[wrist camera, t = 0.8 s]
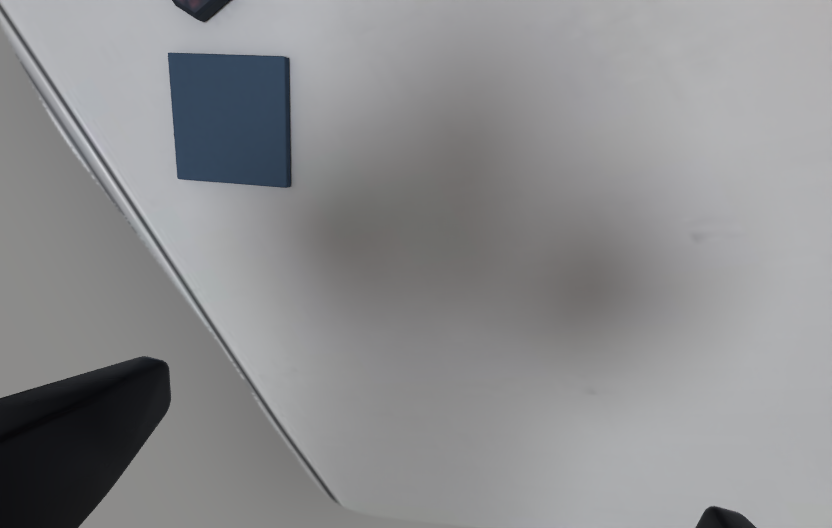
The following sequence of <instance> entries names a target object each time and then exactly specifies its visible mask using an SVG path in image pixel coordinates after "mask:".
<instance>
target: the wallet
mask: <svg viewBox="0 0 832 528" xmlns="http://www.w3.org/2000/svg"><path fill="white" fill-rule="evenodd" d="M172 1H173V2H174V4H175V5H176V6H177V7H179V8H180V9H182V10H183V11H185V12H186V13H188V14H189V15H191V16H193V17H194V18H196V19H198V20H200V21H203V22H205V21H206V20H207V19H208V18H209V17H210V16H212V15H213V14H214V13H215V12H216V11H217V10H219V9H220V8H221V7H222V6H223V5H224V4H226V3H227V2H228V1H229V0H172Z"/></svg>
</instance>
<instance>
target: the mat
mask: <svg viewBox="0 0 832 528" xmlns="http://www.w3.org/2000/svg"><path fill="white" fill-rule="evenodd" d="M168 61H169V74H170V86H171V99H172V112H173V125H174V138H175V151H176V164H177V177H178V179H184V180H196V181H209V182H222V183H234V184H247V185H259V186H272V187H285V188H287V187H290V186H291V175H290V106H289V58H287V57H284V56H256V55H224V54H192V53H168Z"/></svg>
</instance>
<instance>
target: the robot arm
mask: <svg viewBox="0 0 832 528" xmlns="http://www.w3.org/2000/svg"><path fill="white" fill-rule="evenodd" d="M170 402H171V390H170V375H169V367H168V365H167V363H166V362H164V361H163V360H159V359H155V358H151V357H146V356H142V357H138V358H135V359H132V360H128V361H125V362H121V363H118V364H115V365H111V366H108V367H104V368H101V369H97V370H94V371H91V372H87V373H84V374H81V375H77V376H74V377H71V378H67V379H64V380H61V381H57V382H54V383H50V384H47V385H43V386H40V387H37V388H33V389H30V390H26V391H23V392H20V393H16V394H13V395H10V396H6V397H3V398H0V528H78V527H79V526H80V525H81V524H82V523H83V521H84V520H85V519H86V518H87V517H88V516H89V514H90V513H91V512H92V511H93V510H94V509H95V508H96V506H97V505H98V504H99V503H100V502H101V500H102V499H103V498H104V497H105V496H106V494H107V493H108V492H109V490H110V489H111V488H112V487H113V486H114V484H115V483H116V482H117V480H118V479H119V478H120V476H121V475H122V474H123V472H124V471H125V469H126V468H127V467H128V465H129V464H130V463H131V461H132V460H133V458H134V457H135V456H136V454H137V453H138V452H139V450H140V449H141V447H142V446H143V445H144V443H145V442H146V440H147V439H148V437H149V436H150V435H151V434H152V432H153V431H154V429H155V428H156V427H157V425H158V424H159V422H160V421H161V420H162V418H163V417H164V416H165V414H166V412H167V411H168V408H169V406H170ZM696 528H756V527H755V526H754V525H753V524H752V523H751V522H750V521H749V520H748V519H747V518H745V517H744V516H743V515H742V514H740V513H738V512H735V511H731V510H727V509H723V508H720V507H716V506H711V507H709V508H707V509H706V510H705V511H704V513H703V515H702V517H701V519H700V520H699V522H698V524H697V526H696Z"/></svg>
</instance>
